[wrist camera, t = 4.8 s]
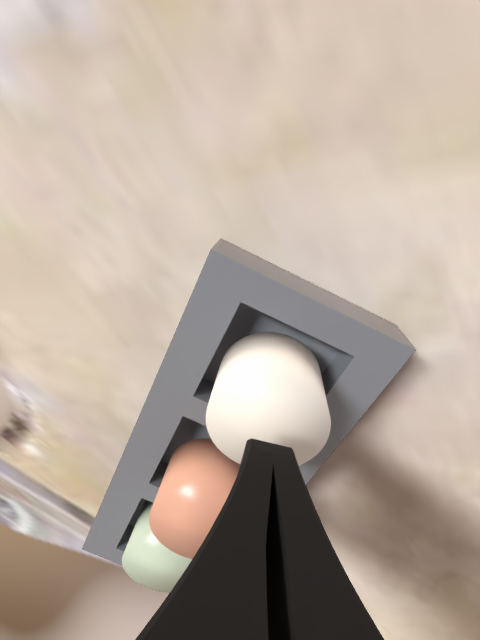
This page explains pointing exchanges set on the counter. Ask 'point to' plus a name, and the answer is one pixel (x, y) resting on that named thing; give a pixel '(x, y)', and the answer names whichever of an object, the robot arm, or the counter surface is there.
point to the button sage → (151, 557)
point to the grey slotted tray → (205, 358)
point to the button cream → (269, 397)
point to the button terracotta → (191, 495)
